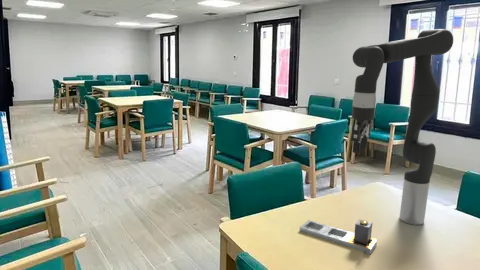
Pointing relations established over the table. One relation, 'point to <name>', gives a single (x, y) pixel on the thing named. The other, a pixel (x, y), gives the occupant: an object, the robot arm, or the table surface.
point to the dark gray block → (363, 232)
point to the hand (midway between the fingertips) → (359, 150)
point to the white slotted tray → (336, 235)
